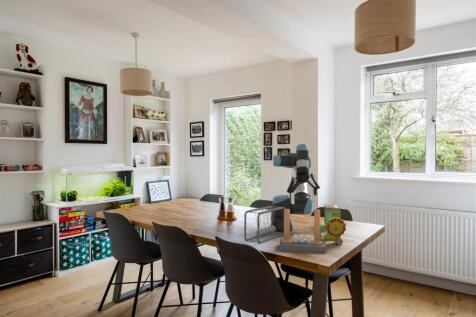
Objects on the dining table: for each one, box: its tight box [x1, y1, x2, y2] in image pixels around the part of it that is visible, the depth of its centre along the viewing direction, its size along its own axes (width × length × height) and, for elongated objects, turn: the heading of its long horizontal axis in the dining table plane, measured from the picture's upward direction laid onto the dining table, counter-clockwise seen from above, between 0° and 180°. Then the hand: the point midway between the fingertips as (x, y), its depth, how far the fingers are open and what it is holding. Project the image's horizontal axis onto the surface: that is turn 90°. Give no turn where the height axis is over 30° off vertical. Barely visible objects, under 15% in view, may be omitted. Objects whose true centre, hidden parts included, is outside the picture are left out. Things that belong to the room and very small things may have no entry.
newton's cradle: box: [243, 205, 285, 245], centre depth 197 cm, size 30×10×18 cm, turn 141°
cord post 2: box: [312, 209, 322, 245], centre depth 173 cm, size 5×5×18 cm
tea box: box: [323, 204, 342, 225], centre depth 227 cm, size 15×10×15 cm
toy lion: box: [320, 217, 347, 246], centre depth 183 cm, size 16×5×15 cm, turn 92°
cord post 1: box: [282, 209, 293, 244], centre depth 175 cm, size 5×5×18 cm
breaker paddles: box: [293, 234, 312, 243], centre depth 174 cm, size 2×9×4 cm, turn 81°
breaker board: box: [278, 238, 327, 254], centre depth 174 cm, size 12×24×3 cm, turn 81°
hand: (303, 202), depth 185 cm, fingers open, 13 cm apart
